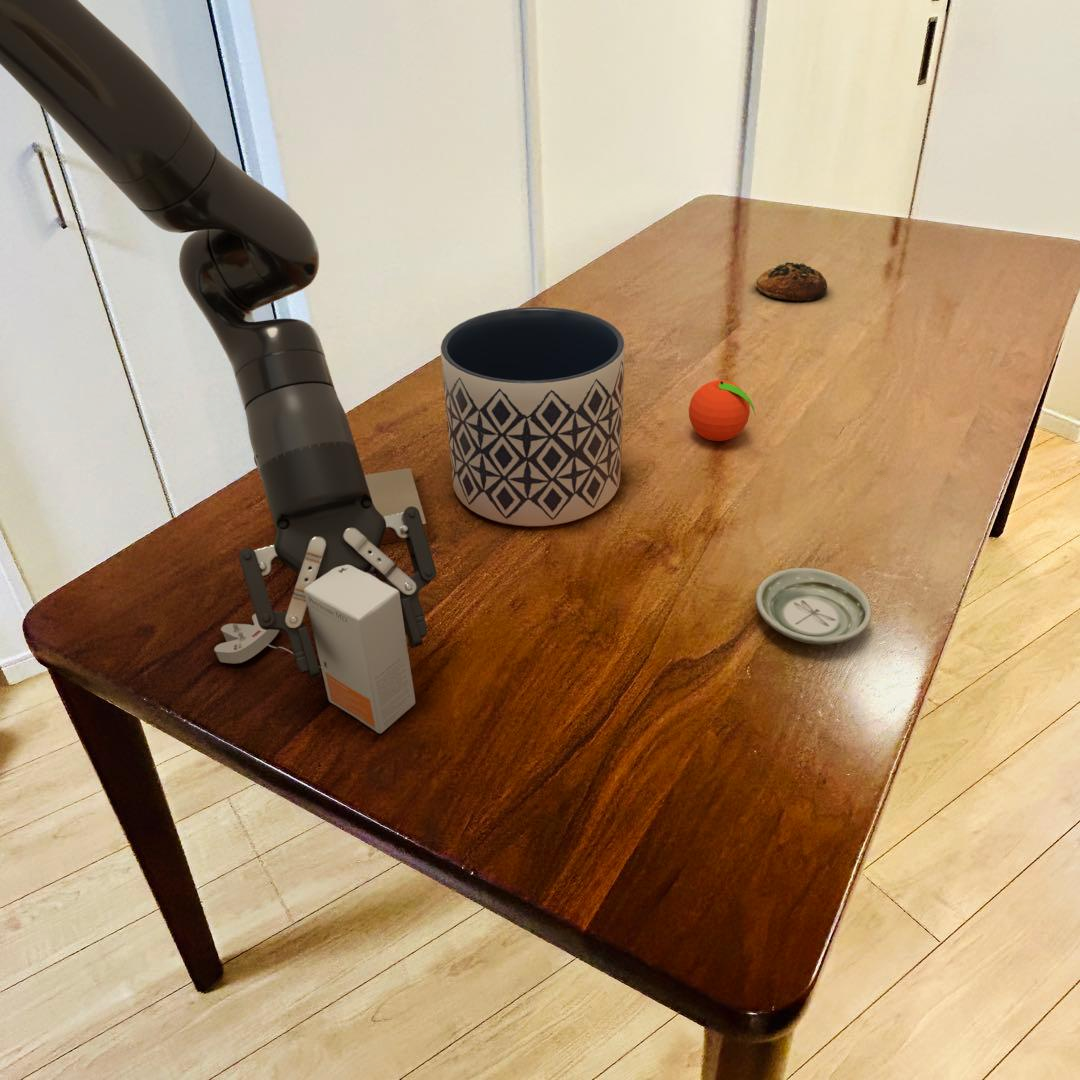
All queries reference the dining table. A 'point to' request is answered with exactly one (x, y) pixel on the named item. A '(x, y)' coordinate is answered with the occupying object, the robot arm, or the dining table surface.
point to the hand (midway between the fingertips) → (367, 660)
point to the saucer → (813, 606)
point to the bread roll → (792, 282)
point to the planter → (534, 413)
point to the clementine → (719, 410)
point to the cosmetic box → (361, 645)
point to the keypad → (394, 496)
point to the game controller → (244, 641)
